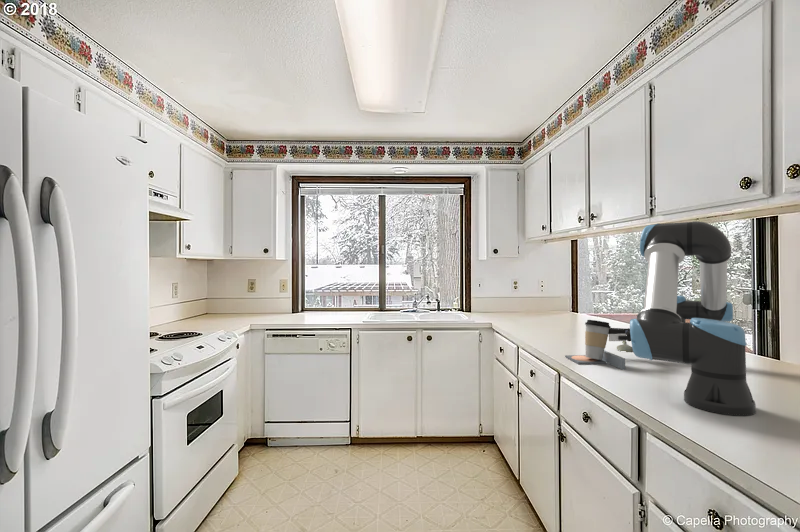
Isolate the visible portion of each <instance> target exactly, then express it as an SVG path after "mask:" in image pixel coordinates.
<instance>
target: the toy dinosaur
mask: <svg viewBox="0 0 800 532" xmlns="http://www.w3.org/2000/svg"><path fill="white" fill-rule="evenodd" d="M621 342H622V344H619V345H617V346H616V350H617V351H619V350H620V351H619V352H621V351H626V352H625V353H632V352H633V349H632V345H629V344H627V342H628V341H627V340H626V341H621ZM625 343H626V344H625Z"/></svg>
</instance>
